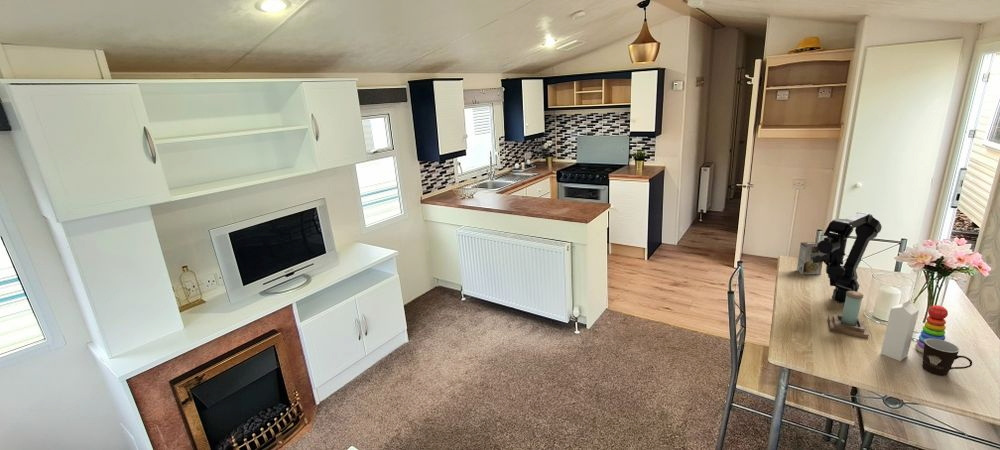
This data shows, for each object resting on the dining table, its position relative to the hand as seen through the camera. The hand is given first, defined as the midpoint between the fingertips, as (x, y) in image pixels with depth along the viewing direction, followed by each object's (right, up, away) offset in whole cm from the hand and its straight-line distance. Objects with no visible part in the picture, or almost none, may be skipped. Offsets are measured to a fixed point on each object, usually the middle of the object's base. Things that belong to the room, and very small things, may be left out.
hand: (830, 281), depth 194 cm
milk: (0, -23, -31) cm, 39 cm away
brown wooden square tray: (-2, -17, -12) cm, 21 cm away
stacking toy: (+14, -22, -30) cm, 40 cm away
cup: (-2, -16, -13) cm, 21 cm away
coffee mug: (+6, -26, -42) cm, 50 cm away
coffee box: (+19, 0, +40) cm, 44 cm away
